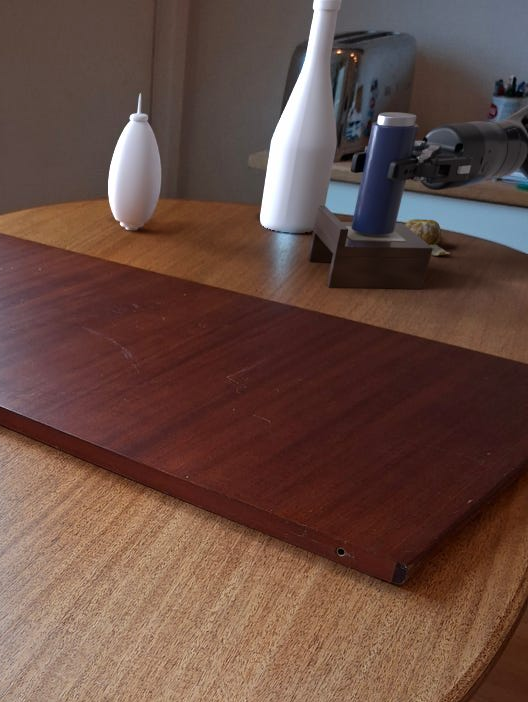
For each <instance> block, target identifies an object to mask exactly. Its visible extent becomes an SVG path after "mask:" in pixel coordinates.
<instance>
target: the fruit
mask: <svg viewBox="0 0 528 702" xmlns="http://www.w3.org/2000/svg"><path fill="white" fill-rule="evenodd" d="M404 225H405V226H407V227H408V228H409V229H410V230H411V231H413V232H414V233H415V234H416V235H417V236H419V237H420V238H421V239H422V240H423V241H425V242H426V243H427V244H428V245H430V246H431V247H432V248H433V250H432V253H431V256H446V255H451V252H448V251H446V250H445V249H443V248H442V247H440V245H439V244H440V242H441V239H442V230H441V229H442V228H441V227H440V224H439V223H438V221H436V220H434V219H420V218H414V219H409V220H408V221H406V222H405V224H404Z"/></svg>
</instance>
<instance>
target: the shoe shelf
mask: <svg viewBox="0 0 528 702" xmlns="http://www.w3.org/2000/svg"><path fill="white" fill-rule="evenodd" d="M352 222H353V221H341V220H340V219H339V218H338V217H337V216H336V215H335V214H334V213H333V212H332V211H331V210H330V209H329V208H328V207H327V206H326V205H325V206H320V205H318V208H317V213H316V218H315V224H314V229H313V232H312V235H311V239H310V240H311V241H310V246H309V251H308V256H307V260H308V262H309V263H330V266H329V271H328V276H327V283H326V285H327V287H328V288H340V289H341V288H343V289H392V290H393V289H395V290H397V289H398V290H423V287H424V283H425V279H426V275H427V272H428V268H429V264H430V260H431V258H432V257H431V256H432V254H431V253H432V250H433V248H432V247H431V246H430V245H428V244H427V243H426V242H425V241H423V240H422V239H421V238H420V237H419V236H417V235H416V234H415V233H414V232H413V231H411V230H410V229H409V228H408V227H407V226H405V224H404V223H403V222H396V225H395V229H394V232H393V233H390V234H385V235H372V234H364V233H360V232H356V231H354V230H352V228H351V227H352Z"/></svg>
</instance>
